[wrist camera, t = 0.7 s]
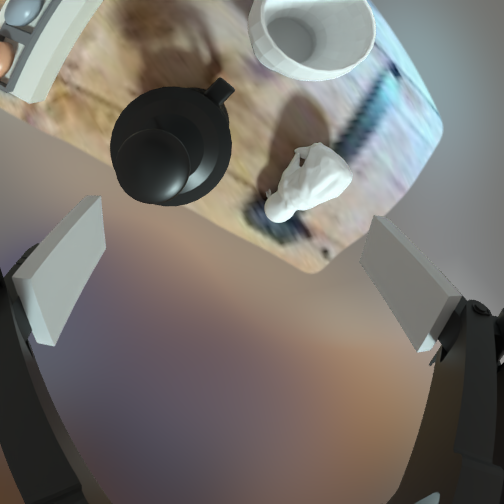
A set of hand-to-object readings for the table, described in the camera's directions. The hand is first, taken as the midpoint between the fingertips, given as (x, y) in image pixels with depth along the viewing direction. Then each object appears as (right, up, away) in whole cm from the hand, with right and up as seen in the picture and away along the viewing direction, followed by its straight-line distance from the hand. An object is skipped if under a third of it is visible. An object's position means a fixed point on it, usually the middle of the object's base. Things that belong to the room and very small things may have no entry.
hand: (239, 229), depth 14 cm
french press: (-7, +15, +21) cm, 27 cm away
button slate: (-26, +28, +5) cm, 38 cm away
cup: (+4, +24, +17) cm, 30 cm away
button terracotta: (-30, +22, +7) cm, 38 cm away
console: (-26, +31, +10) cm, 41 cm away
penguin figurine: (+6, +9, +26) cm, 28 cm away
